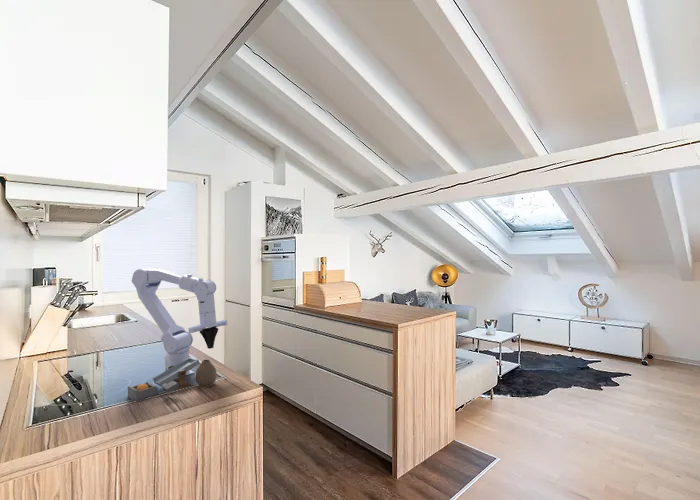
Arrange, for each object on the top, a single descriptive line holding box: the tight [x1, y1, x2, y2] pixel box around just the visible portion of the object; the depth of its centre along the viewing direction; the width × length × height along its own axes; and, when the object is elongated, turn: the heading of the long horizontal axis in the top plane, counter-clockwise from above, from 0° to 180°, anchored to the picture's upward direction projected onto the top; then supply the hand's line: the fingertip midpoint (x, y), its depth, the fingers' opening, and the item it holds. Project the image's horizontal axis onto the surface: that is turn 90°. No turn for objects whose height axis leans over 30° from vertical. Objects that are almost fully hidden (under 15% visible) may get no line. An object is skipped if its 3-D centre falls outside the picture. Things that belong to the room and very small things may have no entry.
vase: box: [195, 359, 218, 388], centre depth 125 cm, size 7×7×9 cm
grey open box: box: [127, 381, 159, 403], centre depth 117 cm, size 7×7×4 cm
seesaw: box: [152, 356, 201, 394], centre depth 123 cm, size 14×15×2 cm
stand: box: [167, 366, 192, 391], centre depth 126 cm, size 10×5×6 cm, turn 51°
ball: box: [137, 383, 149, 391], centre depth 117 cm, size 4×4×4 cm
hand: (210, 348), depth 135 cm, fingers closed
